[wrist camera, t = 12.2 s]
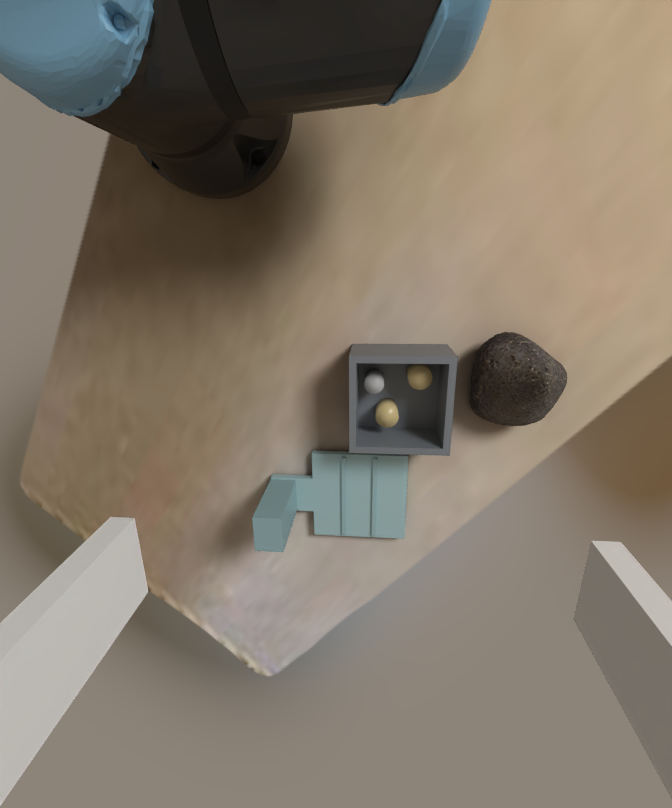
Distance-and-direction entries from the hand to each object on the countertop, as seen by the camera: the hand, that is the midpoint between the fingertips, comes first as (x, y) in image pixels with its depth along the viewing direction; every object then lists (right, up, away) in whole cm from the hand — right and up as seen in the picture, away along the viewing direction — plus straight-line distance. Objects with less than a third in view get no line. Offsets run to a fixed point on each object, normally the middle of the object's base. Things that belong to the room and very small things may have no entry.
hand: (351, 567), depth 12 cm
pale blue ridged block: (0, -6, +38) cm, 39 cm away
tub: (+6, +6, +34) cm, 35 cm away
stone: (+18, +8, +33) cm, 38 cm away
